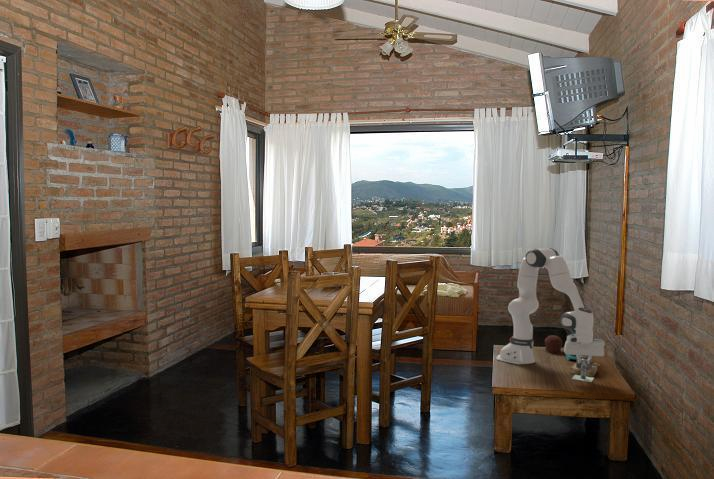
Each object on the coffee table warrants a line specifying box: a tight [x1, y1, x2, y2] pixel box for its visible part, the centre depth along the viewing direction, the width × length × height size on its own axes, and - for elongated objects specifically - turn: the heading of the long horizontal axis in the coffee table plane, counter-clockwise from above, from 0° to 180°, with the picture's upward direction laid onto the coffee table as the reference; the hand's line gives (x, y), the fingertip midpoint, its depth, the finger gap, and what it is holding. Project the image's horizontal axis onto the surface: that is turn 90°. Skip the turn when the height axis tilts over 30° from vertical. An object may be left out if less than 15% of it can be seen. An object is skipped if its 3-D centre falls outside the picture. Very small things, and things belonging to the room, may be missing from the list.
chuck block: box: [570, 355, 600, 378], centre depth 319 cm, size 14×12×8 cm
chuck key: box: [580, 359, 587, 379], centre depth 307 cm, size 8×3×10 cm, turn 168°
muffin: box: [543, 334, 564, 354], centre depth 365 cm, size 12×11×10 cm
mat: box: [571, 374, 595, 383], centre depth 308 cm, size 10×8×1 cm
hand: (583, 363), depth 307 cm, fingers closed on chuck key, 2 cm apart
